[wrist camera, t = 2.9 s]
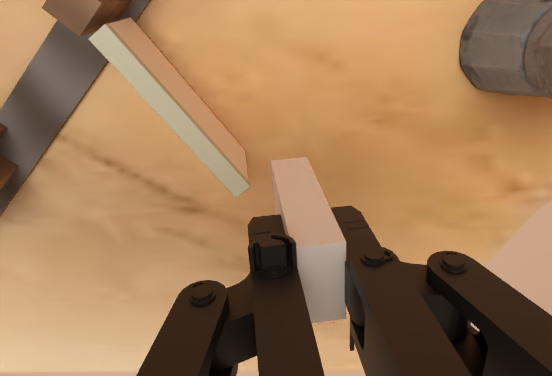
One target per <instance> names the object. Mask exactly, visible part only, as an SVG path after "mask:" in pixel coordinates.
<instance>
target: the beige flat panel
mask: <svg viewBox="0 0 552 376" xmlns="http://www.w3.org/2000/svg"><path fill="white" fill-rule="evenodd" d="M89 40H90V41H91V43H92V44H93V45H94V46H95V47H96V48H97V49H98V50H99V51H100V52H101V53H102V54H103V56H104V57H105V58H106V59H107V60H108V61H109V62H110V63H111V64H112V65H113V66H114V67H115V68H116V70H117V71H118V72H119V73H120V74H121V75H122V76H123V77H124V78H125V79H126V80H127V81H128V82H129V84H130V85H131V86H132V87H133V88H134V89H135V90H136V91H137V92H138V93H139V94H140V95H141V97H142V98H143V99H144V100H145V101H146V102H147V103H148V104H149V105H150V106H151V107H152V108H153V109H154V111H155V112H156V113H157V114H158V115H159V116H160V117H161V118H162V119H163V120H164V121H165V122H166V124H167V125H168V126H169V127H170V128H171V129H172V130H173V131H174V132H175V133H176V134H177V135H178V136H179V138H180V139H181V140H182V141H183V142H184V143H185V144H186V145H187V146H188V147H189V148H190V149H191V150H192V152H193V153H194V154H195V155H196V156H197V157H198V158H199V159H200V160H201V161H202V162H203V163H204V165H205V166H206V167H207V168H208V169H209V170H210V171H211V172H212V173H213V174H214V175H215V176H216V177H217V179H218V180H219V181H220V182H221V183H222V184H223V185H224V186H225V187H226V188H227V189H228V190H229V192H230V193H231V194H232V195H233V196H234V197H235V198H236V197H237V196H238V195H240V194H241V193H242V192H244V191H245V190H246V189H248V188H249V187H250V182H249V181H248V173H247V164H246V155H245V150H244V149H243V148H242V147H241V145H240V144H239V143H238V142H237V141H236V140H235V138H234V137H233V136H232V135H231V134H230V133H229V131H228V130H227V129H226V128H225V127H224V126H223V124H222V123H221V122H220V121H219V120H218V119H217V117H216V116H215V115H214V114H213V113H212V112H211V110H210V109H209V108H208V107H207V106H206V105H205V103H204V102H203V101H202V100H201V99H200V98H199V96H198V95H197V94H196V93H195V92H194V91H193V89H192V88H191V87H190V86H189V85H188V84H187V82H186V81H185V80H184V79H183V78H182V77H181V75H180V74H179V73H178V72H177V71H176V70H175V68H174V67H173V66H172V65H171V64H170V63H169V61H168V60H167V59H166V58H165V57H164V56H163V54H162V53H161V52H160V51H159V50H158V49H157V47H156V46H155V45H154V44H153V43H152V42H151V40H150V39H149V38H148V37H147V36H146V35H145V33H144V32H143V31H142V30H141V29H140V28H139V26H138V25H137V24H136V23H135V22H134V21H133V19H132V18H131V17H130V18H127V19H123V20H120V21H116V22H112V23H106V24H104V25H103V26H102V27H101V28H100V29H99V30H98V31H96V32H95V33H94V34H93V35H92V36H91V37H90V38H89Z"/></svg>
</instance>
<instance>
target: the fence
mask: <svg viewBox="0 0 552 376" xmlns="http://www.w3.org/2000/svg"><path fill="white" fill-rule="evenodd" d="M149 1H150V0H46V2H45V3H44V5H43V7H42V9H44V10H45V11H46V12H48V13H49V14H50V15H52V16H53V17H54V18H56V19H57V22H56V23H55V25H54V27H53V28H52V30H51V31H50V33H49V34H48V36H47V38H46V39H45V41H44V42H43V44H42V45H41V47H40V49H39V50H38V52H37V53H36V55H35V56H34V58H33V60H32V61H31V63H30V64H29V66H28V67H27V69H26V71H25V72H24V74H23V75H22V77H21V78H20V80H19V82H18V83H17V85H16V86H15V88H14V89H13V91H12V93H11V94H10V96H9V97H8V99H7V100H6V102H5V104H4V105H3V107H2V108H1V110H0V215H1V214H2V212H3V211H4V210H5V208H6V207H7V205H8V204H9V202H10V201H11V199H12V198H13V197H14V195H15V194H16V192H17V191H18V189H19V188H20V187H21V185H22V184H23V182H24V181H25V179H26V178H27V176H28V175H29V174H30V172H31V171H32V169H33V168H34V166H35V165H36V164H37V162H38V161H39V159H40V158H41V156H42V155H43V153H44V152H45V151H46V149H47V148H48V146H49V145H50V143H51V142H52V141H53V139H54V138H55V136H56V135H57V133H58V132H59V130H60V129H61V128H62V126H63V125H64V123H65V122H66V120H67V119H68V118H69V116H70V115H71V113H72V112H73V110H74V109H75V107H76V106H77V105H78V103H79V102H80V100H81V99H82V97H83V96H84V95H85V93H86V92H87V90H88V89H89V87H90V86H91V84H92V83H93V82H94V80H95V79H96V77H97V76H98V74H99V73H100V71H101V70H102V69H103V67H104V66H105V64H106V63H107V61H108V60H107V59H106V58H105V57H104V56H103V54H102V53H101V52H100V51H99V50H98V49H97V48H96V47H95V46H94V45H93V44H92V43H91V41H90V40H89V38H90V37H91V36H92V35H93V34H94V33H95V32H96V31H98V30H99V29H100V28H101V27H102V26H103V25H104V24H106V23H112V22H116V21H120V20H123V19H127V18H130V17H131V18H132V19H133V21H134V22H135V21H136V20H137V18H138V17H139V15H140V14H141V13H142V11H143V10H144V8H145V7H146V5H147V4H148V2H149Z"/></svg>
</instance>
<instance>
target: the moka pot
mask: <svg viewBox="0 0 552 376" xmlns="http://www.w3.org/2000/svg"><path fill="white" fill-rule="evenodd" d="M460 62H461V66H462V68H463V70H464V72H465V73H466V75H467V76H468V78H469V79H470V80H471V82H472V83H473V84H474V85H475V86H476V87H477V88H478V89H481V90H485V91H490V92H496V93H502V94H509V95H525V96H542V97H549V98H552V0H485V1H484V2H482V3H481V5H480V6H479V7H478V8H477V9H476V11H475V12H474V13H473V15H472V16H471V18H470V19H469V21H468V23H467V25H466V27H465V29H464V32H463V35H462V39H461V47H460Z"/></svg>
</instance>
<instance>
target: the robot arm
mask: <svg viewBox="0 0 552 376" xmlns="http://www.w3.org/2000/svg"><path fill="white" fill-rule="evenodd" d="M271 170H272V183H273V195H274V208H275V215H270V216H261V217H253V218H252V220H251V221H250V223H249V224H248V235H249V246H248V254H249V262H250V273H249V275H248V276H247V277H246V278H245V279H244V280H243V281H241V282H240V283H238V284H236V285H234V286H231V287H228V288H225V286H224V285H223V284H221V283H219V282H217V281H211V280H205V281H199V282H196V283H193V284H190V285H189V286H187V287H186V288H184V289H183V290H182V291H181V292H180V294H179V295H178V297H177V299H176V301H175V302H174V304H173V306H172V308H171V310H170V312H169V314H168V316H167V318H166V320H165V322H164V324H163V326H162V328H161V329H160V331H159V333H158V335H157V337H156V339H155V341H154V343H153V345H152V347H151V349H150V351H149V353H148V354H147V356H146V358H145V360H144V362H143V364H142V366H141V368H140V370H139V372H138V374H137V376H236V374H237V370H238V363H240V362H243V361H245V360H248V359H250V358H252V357H255V356H257V358H258V371H259V376H324V372H323V368H322V364H321V360H320V356H319V352H318V348H317V344H316V340H315V336H314V332H313V328H312V324H311V323H315V322H323V321H331V320H339V319H346V306H347V309H348V312H349V314H350V351H352V350H354V343H355V346H356V349H357V351H358V354H359V357H360V360H361V363H362V366H363V369H364V371H365V374H366V376H552V316H551V315H550V314H548V313H547V312H546V311H544V310H543V309H541V308H540V307H539V306H537V305H536V304H535V303H533V302H532V301H531V300H529V299H528V298H526V297H525V296H524V295H522V294H521V293H519V292H518V291H517V290H515V289H514V288H512V287H511V286H510V285H508V284H507V283H506V282H504V281H502V279H500V278H499V277H497V276H496V275H495V274H493V273H492V272H490V271H489V270H488V269H486V268H485V267H484V266H482V265H481V264H479V263H478V262H477V261H475V260H474V259H472V258H470V257H469V256H467V255H465V254H462V253H458V252H453V251H442V252H436V253H434V254H432V255H431V256H430V257H429V258H428V260H427V265H421V264H410V263H404V262H401V261H400V260H399V259H398V257H397V256H396V255H395V254H394V253H393V252H392V251H391V250H389V249H386V248H384V247H381V246H380V244H379V242H378V241H377V239H376V237H375V236H374V234H373V232H372V230H371V229H370V228H369V225H368V224H367V222H366V221H365V219H364V217H363V215H362V214H361V212H360V211H358V210H357V209H355V208H354V207H352V206H344V207H334V208H330V206H329V204H328V202H327V200H326V197H325V195H324V193H323V191H322V189H321V187H320V185H319V182H318V180H317V178H316V176H315V174H314V172H313V169H312V167H311V165H310V163H309V161H308V159H307V157H300V158H290V159H280V160H271ZM471 322H472V323H473V324H474V325H475V326H476V327H477V328H478V329H479V330H480V331H479V332H478V331H477V330H475V329H474V328H473V327H472V326H471V325H470V324H471Z"/></svg>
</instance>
